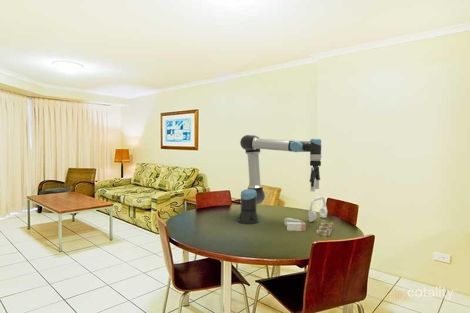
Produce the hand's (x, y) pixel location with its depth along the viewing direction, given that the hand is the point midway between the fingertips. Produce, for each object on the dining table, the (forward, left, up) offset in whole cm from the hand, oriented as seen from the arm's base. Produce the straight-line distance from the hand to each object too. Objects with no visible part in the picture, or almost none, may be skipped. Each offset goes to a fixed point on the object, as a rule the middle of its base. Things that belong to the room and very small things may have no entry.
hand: (314, 190), depth 206 cm
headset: (0, +15, -25) cm, 29 cm away
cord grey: (-13, -9, -25) cm, 30 cm away
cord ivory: (-9, -18, -25) cm, 32 cm away
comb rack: (+10, -14, -25) cm, 30 cm away
